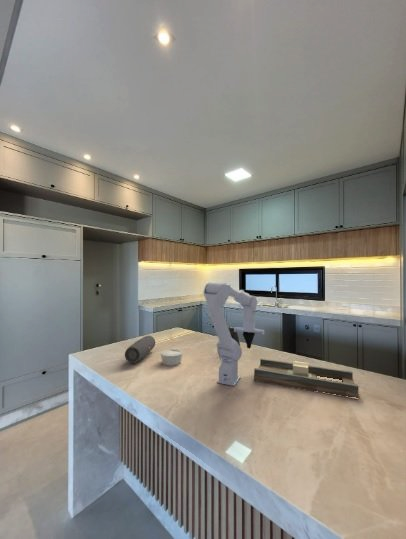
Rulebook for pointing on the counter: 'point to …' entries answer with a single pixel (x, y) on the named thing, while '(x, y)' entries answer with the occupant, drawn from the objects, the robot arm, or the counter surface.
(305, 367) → the maple block
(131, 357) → the bluetooth speaker
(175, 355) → the ramekin
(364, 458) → the counter surface
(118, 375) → the counter surface
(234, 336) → the pump dispenser
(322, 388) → the walled deck
